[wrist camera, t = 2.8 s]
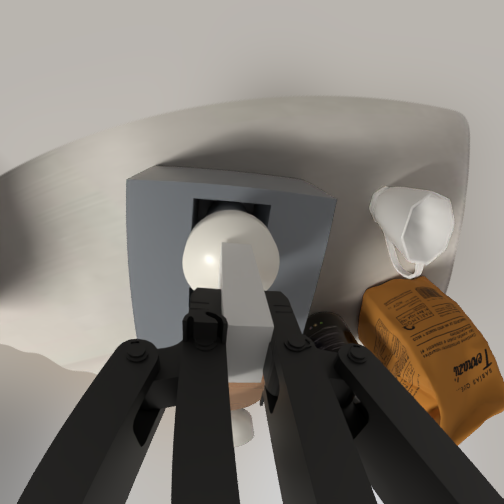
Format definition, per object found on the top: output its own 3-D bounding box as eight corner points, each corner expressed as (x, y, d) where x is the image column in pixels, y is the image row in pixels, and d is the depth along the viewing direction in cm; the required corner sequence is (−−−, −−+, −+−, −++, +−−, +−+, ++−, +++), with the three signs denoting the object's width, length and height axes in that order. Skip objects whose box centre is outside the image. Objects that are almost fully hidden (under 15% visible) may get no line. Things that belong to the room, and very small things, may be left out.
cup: (408, 171, 26) (458, 187, 18) (407, 251, 30) (447, 282, 23) (356, 177, 26) (402, 196, 18) (359, 264, 30) (395, 302, 22)
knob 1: (193, 245, 23) (181, 302, 15) (197, 184, 21) (184, 214, 13) (253, 249, 24) (271, 307, 16) (262, 190, 22) (287, 222, 14)
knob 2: (189, 375, 25) (186, 447, 18) (188, 339, 23) (182, 418, 15) (240, 377, 26) (249, 448, 18) (246, 341, 24) (258, 420, 16)
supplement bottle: (349, 334, 34) (387, 400, 23) (304, 357, 35) (330, 429, 24) (334, 299, 31) (379, 371, 21) (284, 326, 32) (310, 406, 21)
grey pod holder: (157, 337, 31) (146, 387, 24) (154, 165, 23) (126, 179, 16) (270, 343, 33) (282, 392, 26) (303, 179, 25) (337, 199, 18)
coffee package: (416, 325, 36) (493, 426, 16) (348, 341, 35) (418, 476, 15) (433, 268, 32) (539, 368, 12) (361, 279, 31) (473, 425, 11)
